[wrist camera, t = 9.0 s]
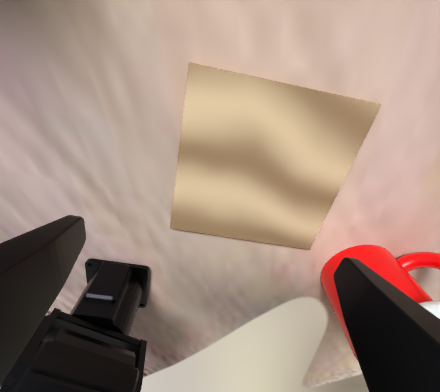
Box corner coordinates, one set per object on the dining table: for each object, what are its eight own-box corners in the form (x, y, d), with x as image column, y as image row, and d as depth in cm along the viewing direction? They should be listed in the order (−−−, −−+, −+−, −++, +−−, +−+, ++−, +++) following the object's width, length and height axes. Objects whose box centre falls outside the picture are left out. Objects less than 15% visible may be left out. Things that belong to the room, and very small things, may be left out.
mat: (308, 246, 25) (309, 249, 24) (171, 225, 23) (170, 228, 23) (377, 103, 18) (381, 104, 17) (189, 62, 16) (188, 62, 16)
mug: (444, 259, 26) (526, 333, 19) (338, 304, 29) (374, 379, 22) (423, 210, 22) (512, 276, 16) (307, 267, 26) (339, 341, 19)
